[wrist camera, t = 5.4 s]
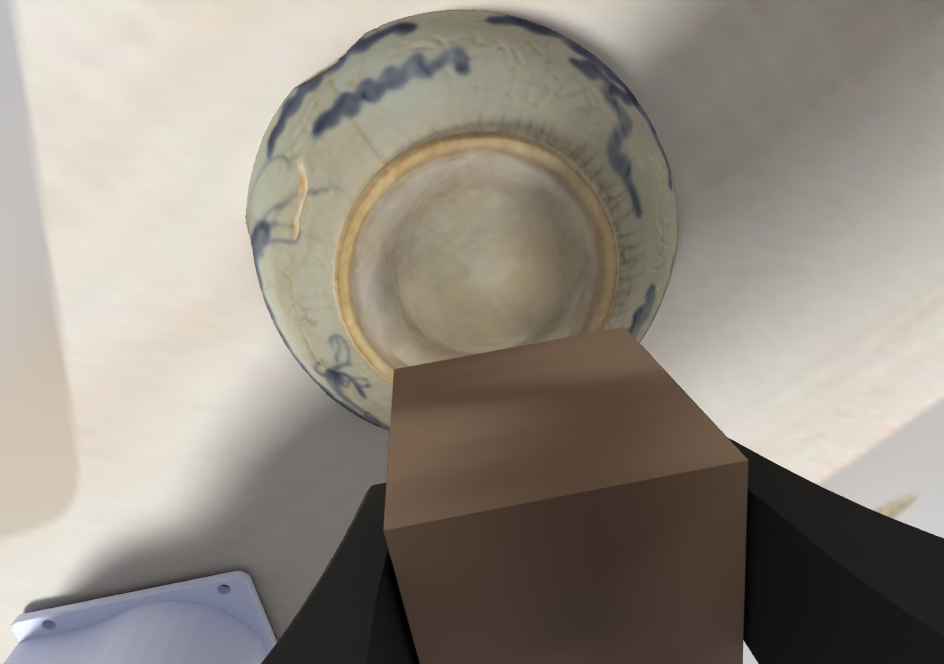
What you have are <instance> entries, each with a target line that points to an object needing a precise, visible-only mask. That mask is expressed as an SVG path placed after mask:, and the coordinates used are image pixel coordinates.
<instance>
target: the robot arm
mask: <svg viewBox="0 0 944 664" xmlns="http://www.w3.org/2000/svg"><path fill="white" fill-rule="evenodd" d="M727 438H728V437H727ZM728 439H729V438H728ZM729 440H730V441H731V442H732V443H733V444H734V445H735V446H736V447H737V448H738V449H739V451H740V452H741V453H742V454H743V455H744V456H745V457H746V458H747V459H748V490H747V525H746V560H745V595H744V630H743V640H744V641H745V643H746V645H747V646H748V647H749V649H750V651H751V652H752V654H753V655H754V657H755V659H756V660H757V662H758V663H759V664H944V538H941V537H938V536H935V535H933V534H930V533H928V532H925V531H922V530H920V529H918V528H915V527H913V526H910V525H908V524H905V523H902V522H900V521H897V520H895V519H892V518H890V517H887V516H885V515H882V514H880V513H878V512H875V511H873V510H871V509H868V508H866V507H864V506H861V505H859V504H857V503H855V502H853V501H851V500H849V499H846V498H844V497H842V496H840V495H838V494H835V493H833V492H831V491H829V490H827V489H825V488H823V487H821V486H819V485H817V484H815V483H813V482H811V481H809V480H807V479H805V478H803V477H801V476H799V475H797V474H795V473H793V472H791V471H789V470H787V469H785V468H783V467H781V466H779V465H777V464H776V463H774V462H772V461H770V460H768V459H766V458H764V457H763V456H761V455H759V454H757V453H755V452H753V451H751V450H750V449H748V448H746V447H744V446H742V445H740V444H739V443H737V442H735V441H733V440H731V439H729ZM385 498H386V483H382V484H377V485H372V486H371V487H370V488H369V490H368V491H367V493H366V495H365V497H364V499H363V501H362V503H361V505H360V507H359V509H358V511H357V513H356V515H355V517H354V519H353V521H352V523H351V525H350V527H349V529H348V531H347V533H346V534H345V536H344V538H343V540H342V542H341V544H340V545H339V547H338V549H337V551H336V552H335V554H334V556H333V558H332V559H331V561H330V563H329V565H328V566H327V568H326V570H325V571H324V573H323V575H322V576H321V578H320V580H319V581H318V583H317V584H316V586H315V587H314V589H313V590H312V592H311V594H310V595H309V597H308V598H307V600H306V601H305V603H304V604H303V606H302V607H301V609H300V611H299V612H298V614H297V615H296V617H295V618H294V619H293V621H292V622H291V624H290V625H289V627H288V628H287V629H286V631H285V632H284V634H283V635H282V636H281V638H280V639H279V640H278V642H277V641H276V638H275V636H274V633H273V631H272V628H271V626H270V624H269V621H268V619H267V616H266V614H265V611H264V609H263V606H262V604H261V602H260V599H259V597H258V594H257V592H256V589H255V587H254V585H253V582H252V580H251V578H250V576H249V575H248V574H247V573H245V572H242V571H233V572H228V573H223V574H218V575H213V576H208V577H203V578H198V579H193V580H188V581H184V582H179V583H174V584H169V585H164V586H159V587H154V588H149V589H144V590H139V591H134V592H129V593H124V594H119V595H114V596H109V597H104V598H99V599H94V600H89V601H84V602H79V603H75V604H70V605H65V606H60V607H55V608H50V609H45V610H40V611H35V612H30V613H25V614H22V615H19V616H18V617H17V618H16V619H15V620H14V622H13V623H12V624H11V631H12V633H13V634H14V636H15V637H16V639H17V640H18V642H19V643H18V645H17V646H16V647H15V649H14V650H13V652H12V653H11V654H10V656H9V657H8V659H7V660H6V661H5V663H4V664H420V663H419V659H418V655H417V652H416V648H415V644H414V641H413V637H412V633H411V630H410V626H409V622H408V619H407V615H406V611H405V608H404V604H403V600H402V597H401V593H400V589H399V586H398V582H397V578H396V575H395V571H394V567H393V564H392V560H391V556H390V553H389V549H388V545H387V542H386V538H385V534H384V531H383V529H384V514H385ZM222 585H228V586H229V587H224V586H222ZM53 621H54V622H53Z"/></svg>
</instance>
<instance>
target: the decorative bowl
mask: <svg viewBox="0 0 944 664" xmlns="http://www.w3.org/2000/svg"><path fill="white" fill-rule="evenodd" d="M245 218H246V224H247V228H248V232H249V234H250V237H251V245H252V248H253V255H254V262H255V267H256V272H257V276H258V279H259V284H260V288H261V290H262V293H263V297H264V300H265V303H266V306H267V308H268V310H269V313H270V315H271V318H272V320H273V322H274V324H275V326H276V328H277V330H278V332H279V334H280V335H281V337H282V339H283V341H284V343H285V344H286V346H287V347H288V349H289V350H290V352H291V353H292V354H293V356H294V357H295V359H296V360H297V361H298V362H299V364H300V365H301V366H302V368H303V369H304V370H305V371H306V372H307V373H308V374H309V376H310V377H311V378H312V379H313V380H314V381H315V382H316V383H317V384H318V385H319V386H320V387H321V388H322V389H323V390H324V391H325V392H326V393H327V395H329V396H330V397H331V398H332V399H334V400H335V401H336V402H337V403H339V404H340V405H342V406H343V407H344V408H346V409H347V410H349V411H350V412H352V413H354V414H355V415H357V416H358V417H360V418H362V419H364V420H366V421H368V422H370V423H372V424H374V425H376V426H378V427H381V428H383V429H386V430H389V431H390V421H391V406H392V390H393V375H394V369H398V368H404V367H409V366H414V365H420V364H425V363H431V362H436V361H441V360H447V359H452V358H458V357H463V356H468V355H474V354H479V353H485V352H490V351H496V350H501V349H506V348H512V347H517V346H523V345H528V344H533V343H539V342H544V341H550V340H555V339H560V338H566V337H571V336H577V335H582V334H588V333H593V332H598V331H604V330H609V329H615V328H620V327H625V328H626V329H627V330H628V331H629V332H630V334H631V335H632V336H633V337H634V338H635V339H636V340H637V341H638V342H639V343H640V342H641V340H642V339H643V337H644V336H645V334H646V332H647V331H648V329H649V327H650V325H651V323H652V322H653V320H654V318H655V315H656V313H657V311H658V309H659V307H660V305H661V302H662V300H663V297H664V294H665V291H666V289H667V286H668V283H669V279H670V275H671V271H672V267H673V262H674V257H675V250H676V243H677V206H676V196H675V189H674V184H673V179H672V175H671V171H670V167H669V164H668V161H667V158H666V155H665V152H664V149H663V147H662V145H661V142H660V140H659V138H658V136H657V133H656V131H655V129H654V128H653V126H652V124H651V122H650V120H649V119H648V117H647V115H646V113H645V112H644V110H643V109H642V107H641V106H640V104H639V103H638V101H637V100H636V98H635V97H634V95H633V94H632V93H631V91H630V90H629V89H628V88H627V87H626V86H625V84H624V83H623V82H622V81H621V80H620V79H619V78H618V77H617V76H616V75H615V74H614V73H613V72H612V71H611V70H610V69H609V68H608V67H607V66H606V65H605V64H603V63H602V62H601V61H600V60H599V59H598V58H597V57H595V56H594V55H593V54H591V53H590V52H589V51H587V50H586V49H584V48H583V47H581V46H580V45H578V44H576V43H575V42H573V41H571V40H570V39H568V38H566V37H564V36H562V35H561V34H559V33H557V32H555V31H552V30H551V29H549V28H546V27H543V26H541V25H538V24H536V23H533V22H530V21H527V20H524V19H521V18H517V17H513V16H509V15H504V14H499V13H493V12H488V11H477V10H446V11H437V12H429V13H423V14H418V15H414V16H409V17H405V18H401V19H398V20H395V21H392V22H388V23H386V24H383V25H381V26H379V27H378V28H377V29H375V30H371V31H369V32H368V33H366V34H364V36H362V37H361V38H360V39H359V41H358V42H357V43H356V44H355V45H353V46H352V47H351V48H350V49H349V50H348V51H347V53H346V54H345V55H344V56H343V57H341V58H340V59H339V61H338V63H337V64H336V65H334V66H333V67H332V68H331V69H330V70H329V71H328V72H326V73H325V74H323V75H321V76H319V77H317V78H315V79H312V80H310V81H308V82H307V83H305V84H303V85H300V86H298V87H295V88H294V89H293V90H292V92H291V93H290V94H289V95H288V96H287V97H286V98H285V100H284V101H283V103H282V104H281V106H280V107H279V109H278V110H277V112H276V114H275V115H274V117H273V118H272V120H271V122H270V124H269V126H268V128H267V130H266V132H265V134H264V136H263V139H262V142H261V144H260V147H259V150H258V153H257V155H256V159H255V163H254V166H253V171H252V175H251V179H250V183H249V190H248V197H247V207H246V216H245Z"/></svg>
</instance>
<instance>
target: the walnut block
mask: <svg viewBox="0 0 944 664" xmlns="http://www.w3.org/2000/svg"><path fill="white" fill-rule="evenodd" d="M747 490H748V459H747V458H746V457H745V456H744V455H743V454H742V453H741V452H740V451H739V449H738V448H737V447H736V446H735V445H734V444H733V443H732V442H731V441H730V440H729V439H728V438H727V437H726V435H725V434H724V433H723V432H722V431H721V430H720V429H719V428H718V427H717V426H716V425H715V424H714V423H713V422H712V420H711V419H710V418H709V417H708V416H707V415H706V414H705V413H704V412H703V411H702V410H701V409H700V408H699V407H698V405H697V404H696V403H695V402H694V401H693V400H692V399H691V398H690V397H689V396H688V395H687V394H686V393H685V391H684V390H683V389H682V388H681V387H680V386H679V385H678V384H677V383H676V382H675V381H674V380H673V379H672V378H671V376H670V375H669V374H668V373H667V372H666V371H665V370H664V369H663V368H662V367H661V366H660V365H659V364H658V363H657V361H656V360H655V359H654V358H653V357H652V356H651V355H650V354H649V353H648V352H647V351H646V350H645V349H644V347H643V346H642V345H641V344H640V343H639V342H638V341H637V340H636V339H635V338H634V337H633V336H632V335H631V334H630V332H629V331H628V330H627V329H626V328H625V327H620V328H615V329H609V330H604V331H598V332H593V333H588V334H582V335H577V336H571V337H566V338H560V339H555V340H550V341H544V342H539V343H533V344H528V345H523V346H517V347H512V348H506V349H501V350H496V351H490V352H485V353H479V354H474V355H468V356H463V357H458V358H452V359H447V360H441V361H436V362H431V363H425V364H420V365H414V366H409V367H404V368H398V369H394V375H393V390H392V406H391V421H390V437H389V452H388V467H387V483H386V498H385V514H384V529H383V531H384V534H385V538H386V542H387V545H388V549H389V553H390V556H391V560H392V564H393V567H394V571H395V575H396V578H397V582H398V586H399V589H400V593H401V597H402V600H403V604H404V608H405V611H406V615H407V619H408V622H409V626H410V630H411V633H412V637H413V641H414V644H415V648H416V652H417V655H418V659H419V663H420V664H743V630H744V595H745V560H746V525H747Z"/></svg>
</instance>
